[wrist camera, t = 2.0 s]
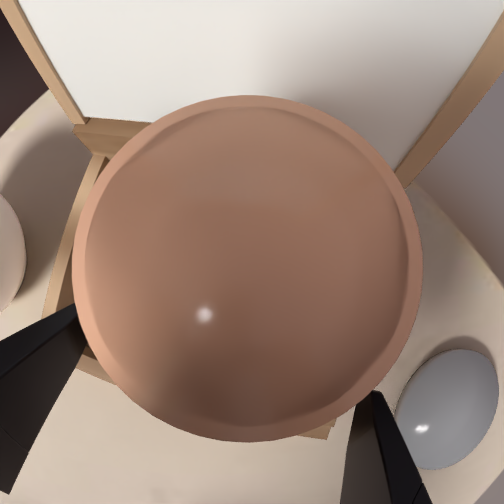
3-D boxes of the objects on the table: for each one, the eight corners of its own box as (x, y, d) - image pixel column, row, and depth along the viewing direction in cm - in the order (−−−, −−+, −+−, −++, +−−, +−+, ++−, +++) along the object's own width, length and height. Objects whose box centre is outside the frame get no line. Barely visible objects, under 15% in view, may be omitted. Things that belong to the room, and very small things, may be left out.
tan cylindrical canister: (292, 364, 18) (376, 464, 5) (185, 337, 19) (42, 372, 5) (317, 258, 20) (431, 142, 6) (213, 233, 20) (140, 80, 6)
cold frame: (318, 426, 18) (341, 464, 12) (60, 348, 19) (5, 353, 13) (365, 214, 20) (402, 178, 15) (115, 160, 21) (79, 117, 16)
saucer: (469, 462, 17) (476, 465, 16) (376, 465, 17) (381, 470, 16) (501, 354, 18) (509, 355, 17) (413, 341, 19) (420, 342, 18)
